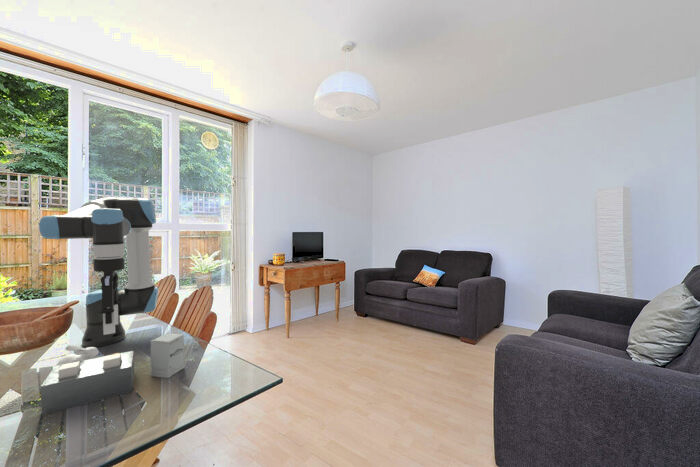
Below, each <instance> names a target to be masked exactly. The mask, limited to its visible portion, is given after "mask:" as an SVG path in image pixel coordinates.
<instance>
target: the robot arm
mask: <svg viewBox="0 0 700 467" xmlns="http://www.w3.org/2000/svg"><path fill="white" fill-rule="evenodd" d="M156 218H157V217H156V211H155V207H154V203H153V201H151V199H149V198H140V197H103V198H98V199H94V200H90V201H88V202H86V203H84V204H83V205H81V207H79V208H78V209H75V210H72V211H70V212H67V213H65V214H63V215H55V214H53V215H44V216H42V217H41V218H40V220H39V223H38V230H39V233H40V235H41V237H42V238H44V239H46V240H72V239H76V240H77V239H79V240H80V239H92V247H91V248H90V251H91V252H93V255H92V256H93V258H95V259H94V260H93V261H92V262H93V272H96V273H97V272H98V273H101V272H102V273H103V276H101V277H100V283H101V289H97V290H95V291H91V292H89V293H88V294H86V296H85V297H86V298H85V303H84V304H85V311H86V313H85V314H86V328H85V330H84V334H83V335H82V338H81V346H82V347H83V348H84V347H85V348H88V347H95V348H97V347H103V346H107V345H108V346H109V345H111V344H115V343H117V342H120V341H122V340H124V339H125V338H126V330H125V329H124V326H123V324H122V322H121V316H122V317H123V316H129V315H138V314H139V315H140V314H147V313H151V312H154V311H155V310H156V308H157V303H158V297H159V287H158V286H155V282H153V281H152V280H151V262H150V261H151V260H150V259H151V257H150V255H151V254H150V240H149V239H150V233H149V232H150V230H151V229H153V224H156V223H157V219H156ZM124 237H125V240H126V241H124ZM124 242H125V243H126V261H127V262H126V263H127V264H126V265H127V266H126V267H127V283H126V284H125V285H124V287H123V289H120V287H119V282H118V281H119V275H118V273H117V272H118V271H122V270H124V269H125V258H124V256H125V243H124Z"/></svg>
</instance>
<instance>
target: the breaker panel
mask: <svg viewBox="0 0 700 467" xmlns="http://www.w3.org/2000/svg"><path fill="white" fill-rule="evenodd" d="M118 353H119V352H115V353H111V354H110V355H113V354H118ZM120 353H121V366H117V367H112V368H107V369H103V360H104V358H105V356H106V355H105V356H100V357H96V358H95V357H94V359H89V360H84V361H80V373H79V375H75V376H70V377H65V378H61V379H59V374H58V370H59V368H60V367H61V365H58V366H56V365H55V366H54V367H53V368H52V370H51V371H50V373H49V374H48V375H47V376H46V379H45V380H44V381H43V382H42V384H41V385H40V399H41V400H40V402H41V404H40V406H41V407H40V408H41V415H42V416H44V415H47V414H51V413H54V412H58V411H62V410H66V409H70V408H74V407H78V406H81V405H82V406H83V405H86V404H90V403H93V402H97V401H102V400H104V399H109V398H113V397H117V396H120V395H124V394H128V393H132V392H133V386H134V379H135V351H134V350H130V351H125V352H120ZM73 362H78V361H73ZM73 362H71V363H73Z"/></svg>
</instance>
